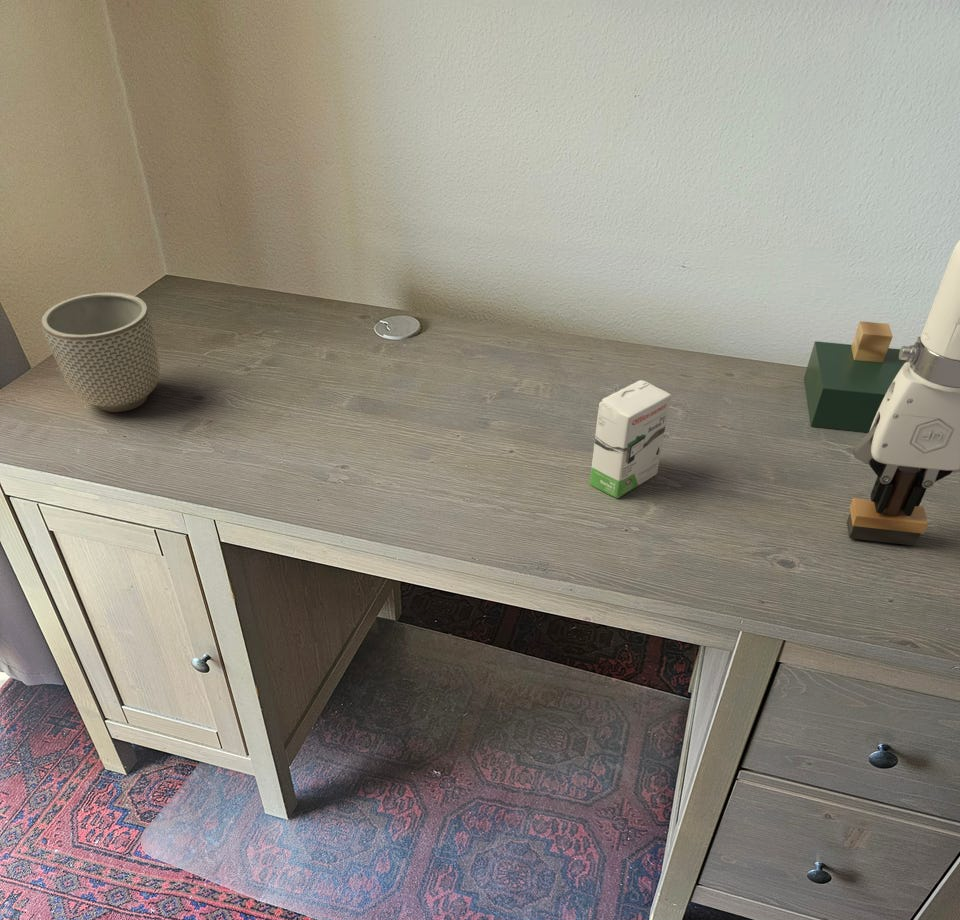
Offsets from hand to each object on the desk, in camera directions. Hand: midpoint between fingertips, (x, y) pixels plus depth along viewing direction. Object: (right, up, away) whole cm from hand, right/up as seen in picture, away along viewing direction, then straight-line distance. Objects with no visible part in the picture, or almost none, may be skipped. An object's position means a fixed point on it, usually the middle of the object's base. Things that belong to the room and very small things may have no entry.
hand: (891, 506), depth 101 cm
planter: (-100, +19, +24) cm, 105 cm away
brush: (0, -3, +3) cm, 4 cm away
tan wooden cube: (+7, +25, +23) cm, 35 cm away
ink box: (-30, +5, +11) cm, 32 cm away
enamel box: (+6, +18, +24) cm, 31 cm away
